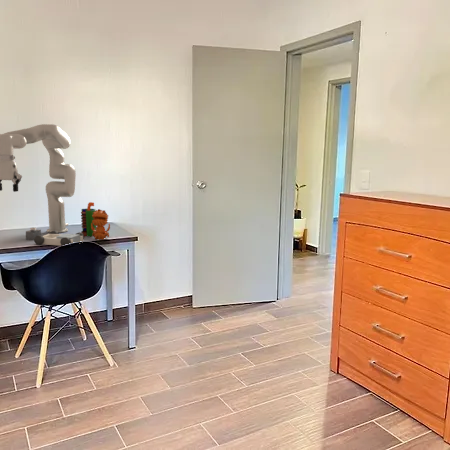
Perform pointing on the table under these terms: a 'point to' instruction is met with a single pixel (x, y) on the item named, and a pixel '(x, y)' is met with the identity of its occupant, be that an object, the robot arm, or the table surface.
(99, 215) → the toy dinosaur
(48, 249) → the table surface
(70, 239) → the chassis
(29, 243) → the table surface
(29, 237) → the engine block
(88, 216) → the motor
